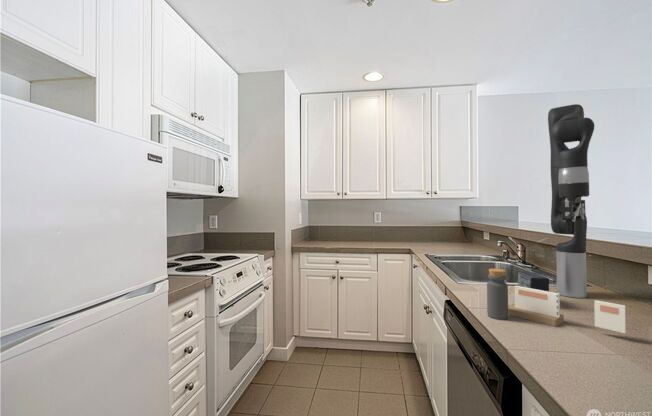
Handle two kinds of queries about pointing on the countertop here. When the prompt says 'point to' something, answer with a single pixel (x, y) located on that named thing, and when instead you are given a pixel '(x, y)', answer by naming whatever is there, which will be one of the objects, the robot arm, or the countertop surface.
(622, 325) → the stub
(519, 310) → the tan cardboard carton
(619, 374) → the countertop surface
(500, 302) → the bottle
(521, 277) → the small box
